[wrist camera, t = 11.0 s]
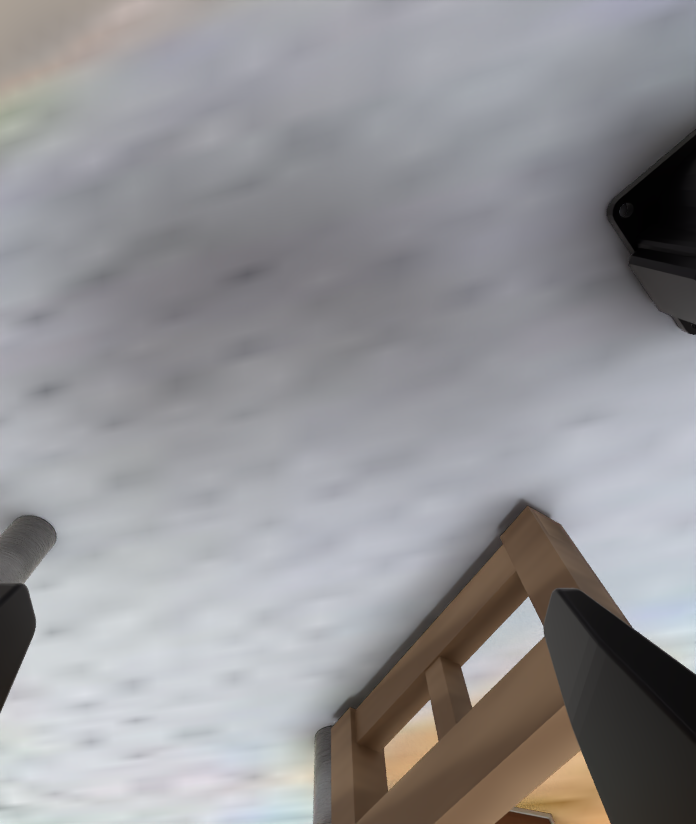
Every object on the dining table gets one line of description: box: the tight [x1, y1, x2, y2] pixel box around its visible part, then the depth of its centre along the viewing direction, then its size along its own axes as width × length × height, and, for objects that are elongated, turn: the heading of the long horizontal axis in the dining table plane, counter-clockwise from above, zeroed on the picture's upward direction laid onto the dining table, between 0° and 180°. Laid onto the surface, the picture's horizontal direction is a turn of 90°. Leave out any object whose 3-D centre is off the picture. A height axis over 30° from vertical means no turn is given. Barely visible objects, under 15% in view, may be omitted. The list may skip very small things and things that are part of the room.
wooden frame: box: [331, 506, 632, 824], centre depth 22 cm, size 2×17×8 cm, turn 148°
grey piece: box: [0, 516, 333, 824], centre depth 23 cm, size 2×22×8 cm, turn 42°
